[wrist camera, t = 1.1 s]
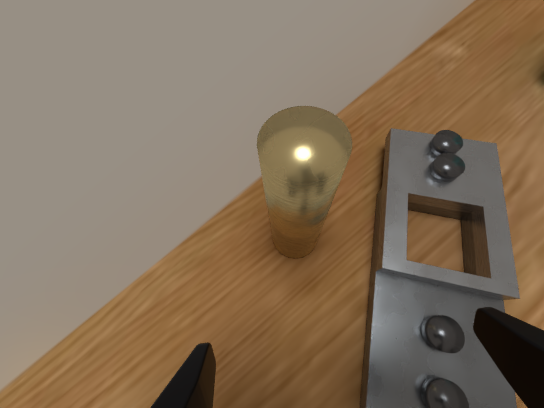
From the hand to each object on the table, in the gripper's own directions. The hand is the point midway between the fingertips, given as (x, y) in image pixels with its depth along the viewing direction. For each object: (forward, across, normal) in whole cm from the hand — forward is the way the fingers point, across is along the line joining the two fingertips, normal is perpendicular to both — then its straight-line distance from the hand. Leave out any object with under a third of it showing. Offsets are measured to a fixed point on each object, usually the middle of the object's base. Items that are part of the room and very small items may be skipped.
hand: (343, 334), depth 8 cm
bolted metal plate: (+12, -11, +7) cm, 18 cm away
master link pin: (+15, 0, +4) cm, 15 cm away
